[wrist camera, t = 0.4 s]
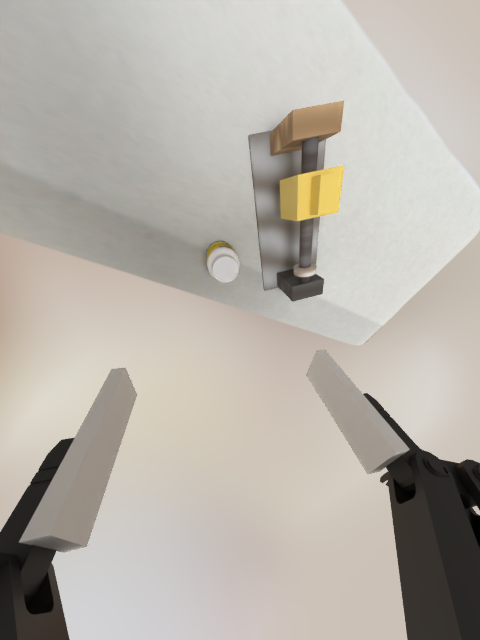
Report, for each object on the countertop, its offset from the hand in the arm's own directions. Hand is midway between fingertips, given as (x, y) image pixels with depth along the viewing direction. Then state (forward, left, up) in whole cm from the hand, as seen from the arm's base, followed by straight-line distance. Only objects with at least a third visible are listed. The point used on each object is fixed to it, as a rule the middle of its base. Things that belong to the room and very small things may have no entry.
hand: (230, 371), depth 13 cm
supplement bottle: (-1, +2, -27) cm, 28 cm away
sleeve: (-8, +16, -23) cm, 29 cm away
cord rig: (-4, +16, -27) cm, 32 cm away
